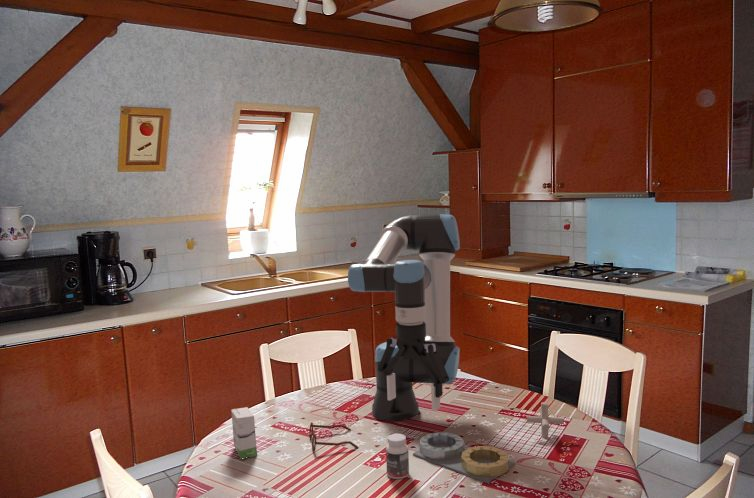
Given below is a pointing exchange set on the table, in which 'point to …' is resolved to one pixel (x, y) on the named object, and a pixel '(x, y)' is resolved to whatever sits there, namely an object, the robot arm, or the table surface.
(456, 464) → the slate board
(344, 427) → the glasses
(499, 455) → the brass socket
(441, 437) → the grey socket
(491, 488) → the table surface
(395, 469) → the pill bottle
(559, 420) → the pipe connector
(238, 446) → the ink box
